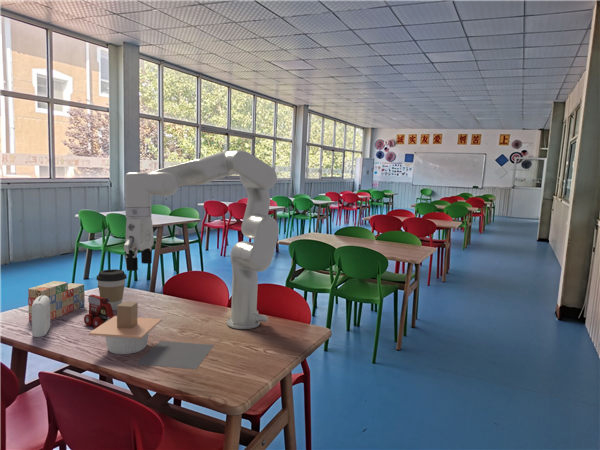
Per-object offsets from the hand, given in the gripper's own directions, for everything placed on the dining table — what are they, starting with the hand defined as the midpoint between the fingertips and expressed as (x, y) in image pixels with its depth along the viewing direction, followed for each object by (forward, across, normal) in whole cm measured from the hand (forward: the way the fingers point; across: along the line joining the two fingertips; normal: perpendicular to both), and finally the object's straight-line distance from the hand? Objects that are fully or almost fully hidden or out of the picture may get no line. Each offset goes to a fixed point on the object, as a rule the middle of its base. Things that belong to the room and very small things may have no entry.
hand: (139, 266), depth 134 cm
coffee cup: (+26, +34, +29) cm, 52 cm away
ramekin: (+26, -2, +4) cm, 27 cm away
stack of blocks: (+26, +24, +44) cm, 57 cm away
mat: (+26, -4, -14) cm, 30 cm away
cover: (+19, -2, +4) cm, 20 cm away
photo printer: (+26, +4, +37) cm, 46 cm away
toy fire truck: (+26, +16, +23) cm, 38 cm away
